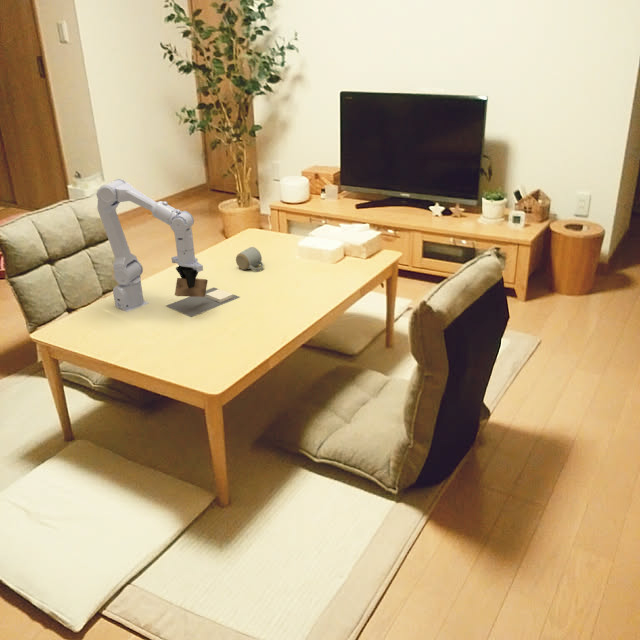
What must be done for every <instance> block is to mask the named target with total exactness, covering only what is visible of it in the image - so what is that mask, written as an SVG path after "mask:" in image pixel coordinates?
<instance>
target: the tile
mask: <svg viewBox="0 0 640 640" xmlns="http://www.w3.org/2000/svg"><path fill="white" fill-rule="evenodd" d="M217 289H218V290H215V291H213V292H210V293H207V294H206V297H207V298H210V299H212V300H215V301H217V302H220V303H221V302H223V301H226V300H228V299H231V298H233V295H234V294H233V293H230V292H228V291H225V290H222V289H220V288H217Z"/></svg>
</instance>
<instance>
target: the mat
mask: <svg viewBox="0 0 640 640" xmlns="http://www.w3.org/2000/svg"><path fill="white" fill-rule="evenodd" d="M218 289H219V288H216V287H212V288H208V289H206V293H205V297H190V296H186V297H184V298H182V299H179V300H177V301H175V302H171V303H169V304H167V305H165V307H167V308H169V309H171V310H173V311H176V312H178V313H181V314H183V315H185V316H187V317H190V318H192V317H195V316H198V315H200V314H202V313H205V312H208V311H210V310H213V309H215V308H218V307H220V306H223V305H225V304H227V303H230V302H232V301H235V300H237V299H240V298H241V296H238V295H237V294H233V298H231V299H228V300H226V301H223V302H221V303H220V302H217V301H215V300H212V299H210V298H207V297H206V294H207V293H210V292H213V291H215V290H218Z"/></svg>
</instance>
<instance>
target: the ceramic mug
mask: <svg viewBox="0 0 640 640" xmlns="http://www.w3.org/2000/svg"><path fill="white" fill-rule="evenodd" d="M262 260H263V258H262V254H261V252H260V251H259V249H258V248H256V247H254V246H251V247H248V248H247V249H244V250H243V251H241V252H239V253H238V254H237V255H236V257H235V263H236V265H237V267H239V269H241V270H244V271H246V270H249V269H250V270H251V271H254V272H260V270H261V271H262V270H263V268H264V263H263V262H262ZM259 265H260V266H261V267H257V266H259Z"/></svg>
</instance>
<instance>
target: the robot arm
mask: <svg viewBox="0 0 640 640" xmlns="http://www.w3.org/2000/svg"><path fill="white" fill-rule="evenodd" d="M95 195H96V198H97V207H96V209H97V212H98V214H99V217H100V220H101V223H102V225H103V229H104V231H105V234H106V236H107V239H108V242H109V245H110V248H111V250H112V253H113V256H114V258H115V259H114V261H113V265H112V268H113V272H114V273H113V278H114V280H115V281H116V283H118V284H117V285H115V286H114V287H113V289H112V293H113V294H112V295H113V299H114V307H115V308H118V309H119V310H122V311H124V312H129V311H132V310H135V309H138V308H141V307H143V306H146V305H148V304H150V302H148V301H146V300H144V295H143V293H144V292H143V288H142V287H143V286H142V281H141V275H142V274H143V271H144V268H143V265H142V264H141V263H140V261H139V259H138V258H137V256H136V255H135V254H133V253H132V252H131V250H130V247H129V244H128V242H127V239H126V236H125V233H124V231H123V228H122V225H121V222H120V219H119V217H118V213H117V208H118V206H119V205H120V203H124V202H131V203H133V204H136V205H138V206H140V207H142V208H143V209H146V210H148V211H150V213H151V215H152V216H153V217H154V218H156V219H158V220H159V221H161V222H163V223H164V224H166V225H168V226H170V228H171V230H172V232H173V233H174V238H175V247H176V254H177V255H175V256H172V257H171V263H172V264H177V265H178V266H176V267H175V270H176V272H177V273H178V274H179V276H180V278H186V280H187V285H188V288H192V287H194V285H195V279H197V276H198V275H197V273H198V274H199V272H202V271H204V266H203V264H202V263H200V262H199V261H198V258H197V257H196V256H195V247H194V245H195V244H194V236H193V228H192V227H193V226H194V223H195V222H194V221H195V219H194V216H193V215H192V213H190V212H189V211H188V210H182V211H181V210H180V209H179V208H175V207H173V206H171V205H169V203H168V202H167V201H165V200H164V201H162V200H160V201H155V200H154V199H153V198H151V197H149V196H147V195H145V194H144V193H143V192H141V191H140V190H138V189H136V188H135V187H133V186H132V184H131V183H129V182H126V181H125V180H124V179H122V178H117V179H115V180H113V181H111V182H109V183H107V184H103V185H102V186H100V187H99V188H98V190H97V191H96V194H95ZM196 275H197V276H196Z"/></svg>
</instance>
